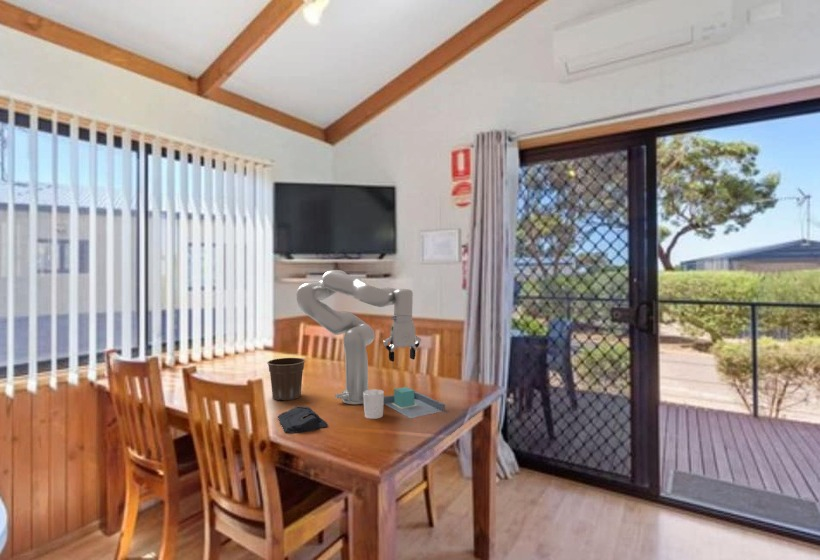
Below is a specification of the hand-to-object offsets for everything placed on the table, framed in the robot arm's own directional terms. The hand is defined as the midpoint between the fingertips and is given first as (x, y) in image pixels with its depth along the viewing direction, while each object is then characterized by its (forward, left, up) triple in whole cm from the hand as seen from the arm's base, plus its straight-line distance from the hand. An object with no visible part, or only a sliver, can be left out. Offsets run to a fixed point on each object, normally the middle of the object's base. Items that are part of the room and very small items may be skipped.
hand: (402, 359), depth 186 cm
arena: (0, -8, -19) cm, 20 cm away
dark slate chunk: (-42, +2, -19) cm, 47 cm away
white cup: (-18, -9, -19) cm, 27 cm away
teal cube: (-1, -4, -18) cm, 18 cm away
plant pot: (-38, +37, -19) cm, 56 cm away
